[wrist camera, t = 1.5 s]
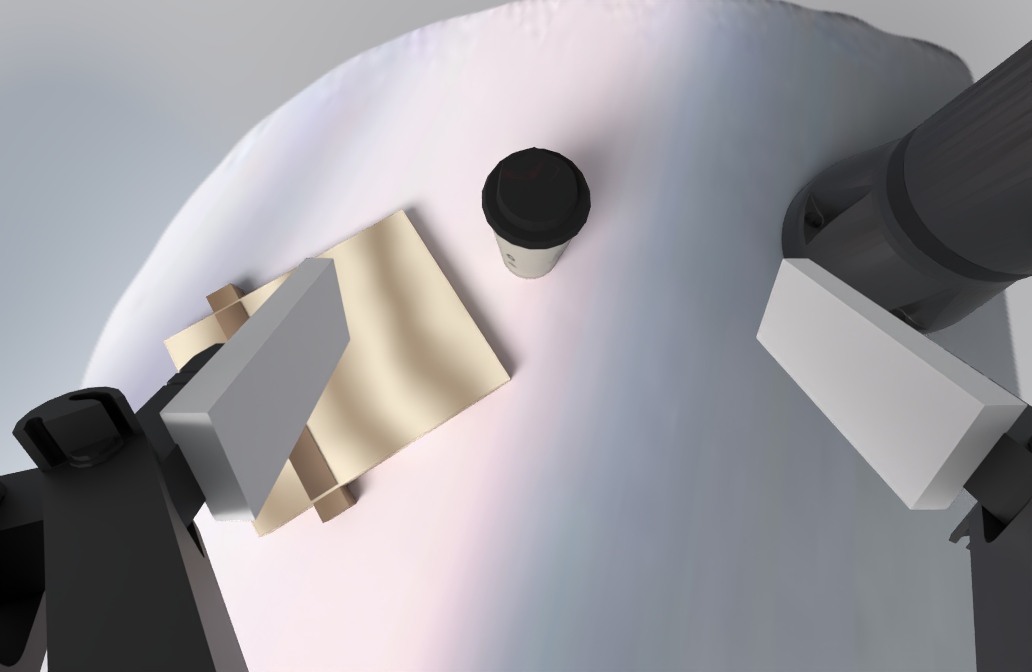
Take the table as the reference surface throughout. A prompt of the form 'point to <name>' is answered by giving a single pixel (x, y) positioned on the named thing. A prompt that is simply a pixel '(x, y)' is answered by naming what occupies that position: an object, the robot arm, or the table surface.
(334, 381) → the subfloor panel
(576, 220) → the coffee cup
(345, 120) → the table surface
